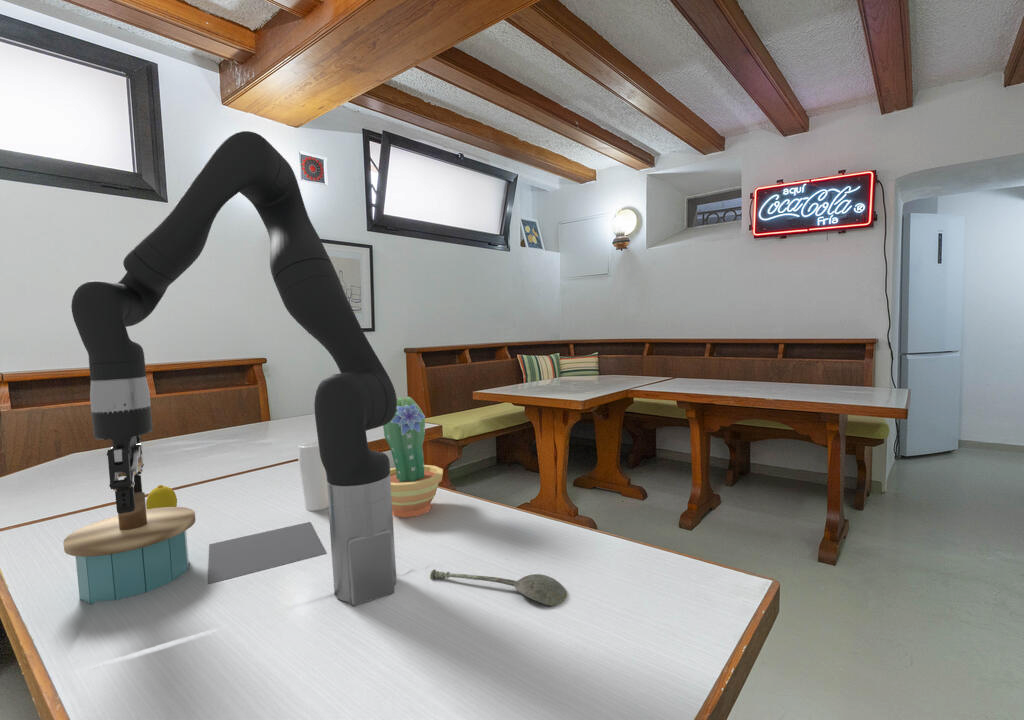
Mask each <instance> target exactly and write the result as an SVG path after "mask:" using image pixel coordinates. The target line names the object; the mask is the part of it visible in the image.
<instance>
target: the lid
mask: <svg viewBox="0 0 1024 720" xmlns="http://www.w3.org/2000/svg"><path fill="white" fill-rule="evenodd" d="M145 495H146V494H145V492H144V491H142V492H135V493H134V498H135V509H134V511H132V512H128V513H122V514H119V513H117V514H118V515H115V516H111V517H108V518H104V519H101V520H98V521H96V522H93V523H90V524H88V525H85V526H83V527H81V528H78V529H76V530H74V531H73V532H71V533H70V534H68V535H66V537H65V538H64V539H63V541H62V542H63V551H64V553H65V554H66V555H69V556H72V557H76V556H80V557H90V556H102V555H109V554H115V553H121V552H126V551H130V550H134V549H138V548H142V547H146V546H149V545H152V544H155V543H158V542H161V541H164V540H167V539H169V538H172V537H174V536H176V535H178V534H180V533H182V532H184V531H186V532H187V530H189V529H190V528H191V527H193V526H194V524H195V523H196V511H194V509H192V508H189V507H185V506H184V507H183V506H177V507H163V508H154V509H146V496H145Z"/></svg>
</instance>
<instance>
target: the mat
mask: <svg viewBox="0 0 1024 720" xmlns="http://www.w3.org/2000/svg"><path fill="white" fill-rule="evenodd" d="M327 554H328V552H327V551H326V549H325V547H324V545H323V543H322V542H321V539H320V537H319V535H318V533H317V532H316V529H315V527H314V526H313V524H312V522H311V521H308V522H303V523H299V524H294V525H290V526H289V525H288V526H285V527H281V528H276V529H272V530H268V531H267V530H266V531H263V532H258V533H254V534H249V535H245V536H240V537H236V538H232V539H227V540H222V541H217V542H214V543H209V546H208V561H207V562H208V565H207V582H206V583H207V585H210V584H211V585H212V584H214V583H219V582H223V581H226V580H227V581H228V580H231V579H234V578H239V577H242V576H246V575H250V574H254V573H257V572H261V571H264V570H269V569H274V568H276V567H277V568H278V567H280V566H284V565H289V564H293V563H297V562H301V561H304V560H307V559H312V558H315V557H320V556H323V555H327Z"/></svg>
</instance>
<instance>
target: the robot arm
mask: <svg viewBox="0 0 1024 720" xmlns="http://www.w3.org/2000/svg"><path fill="white" fill-rule="evenodd" d="M238 193H239V194H241V195H242V196H243V197H245V198H246V199H247V200H248V201H249V202H250V204H252V205H253V207H254V208H255V210H256V211H257V213H258V215H259V217H260V219H261V221H262V223H263V224H264V227H265V229H266V232H267V233H268V238H269V242H270V245H269V246H270V247H269V268H270V274H271V276H272V279H273V282H274V285H275V287H276V289H277V291H278V294H279V296H280V298H281V300H282V304H283V305H284V307H285V309H286V310H287V312H288V313H289V315H290V316H291V318H293V319H294V320H295V321H296V323H297V324H299V326H301V327H302V328H303V329H304V330H305V331H306V332H307V333H308V334H310V336H312V337H313V338H314V339H315V340H316V341H317V342H319V344H321V346H322V347H324V348H325V350H327V352H328V353H329V354H330V356H331V357H332V359H333V360H334V362H335V363H336V365H337V368H338V371H339V372H340V373H334V374H331V375H328V376H326V377H324V378H323V379H322V380H321V381H320V382H319V384H318V386H317V387H316V390H315V395H314V403H313V404H314V406H313V407H314V418H315V426H316V433H317V435H316V436H317V441H318V444H319V452H320V458H321V461H322V464H323V466H324V468H325V471H326V476H327V490H328V507H327V508H328V516H329V517H328V519H329V522H328V523H329V532H330V533H329V536H330V550H331V563H332V576H333V578H332V579H333V580H332V581H333V592H334V595H335V597H336V598H337V599H339V600H341V601H343V602H348V603H350V604H351V605H352V606H356V605H359V604H362V603H365V602H369V601H373V600H375V599H379V598H382V597H383V596H384V597H385V596H387V595H391V594H394V593H395V586H396V585H397V582H398V581H397V566H396V565H397V563H396V550H395V548H396V547H395V535H394V516H393V514H392V498H391V479H390V469H391V464H390V462H391V461H390V457H388V455H387V453H384V452H381V451H377V450H371V449H370V447H369V445H368V437H367V431H369V430H374V429H377V428H380V427H383V425H385V424H387V423H389V422H390V421H391V420H392V419H393V417H394V415H395V412H396V408H397V398H398V397H397V393H396V389H395V387H394V384H393V382H392V381H391V378H390V376H389V375H388V372H387V371H386V369H385V368H384V365H383V364H382V362H381V360H380V359H379V357H378V356H377V353H376V352H375V350H374V349H373V346H372V345H371V344H370V342H369V340H368V338H367V337H366V335H365V332H364V331H363V329H362V326H361V324H360V322H359V320H358V318H357V315H356V313H355V311H354V310H353V307H352V306H351V305H352V304H351V303H350V301H349V300H348V299H349V298H348V297H347V295H346V292H345V290H344V288H343V285H342V282H341V279H340V278H339V276H338V273H337V271H336V269H335V266H334V265H333V262H332V260H331V257H330V256H329V254H328V253H327V250H326V248H325V246H324V244H323V242H322V240H321V238H320V236H319V234H318V233H317V231H316V229H315V227H314V225H313V223H312V221H311V219H310V216H309V214H308V212H307V208H306V206H305V202H304V199H303V196H302V193H301V189H300V187H299V183H298V179H297V176H296V174H295V172H294V170H293V167H292V166H291V165H290V163H289V162H288V161H287V159H286V158H284V156H283V155H282V154H281V153H280V152H279V151H278V150H277V149H276V148H275V147H274V146H273V144H271V143H270V142H269V141H268V140H267V139H266V138H265V137H264V136H262V135H260V134H258V133H256V132H253V131H245V130H244V131H239V132H236V133H234V134H232V135H230V136H229V137H227V138H226V139H224V141H222V143H220V145H219V146H218V148H217V149H215V150H214V152H213V153H212V155H211V156H210V157H209V159H208V160H207V161H206V163H205V165H204V166H203V167H202V168H201V169H200V171H199V172H198V174H197V175H196V176H195V178H194V179H193V180H192V182H191V183H190V184H189V186H188V187H187V188H186V190H185V191H184V193H183V194H182V196H181V197H180V198H179V200H178V202H177V203H176V204H175V205H174V206H173V208H172V210H171V211H170V212H169V213H168V214H167V215H166V217H164V218H163V220H162V221H161V222H160V223H159V224H158V225H157V226H156V227H155V228H153V230H151V232H149V233H148V234H147V235H145V237H144V238H143V239H142V240H141V241H139V242H138V243H137V245H136V246H135V247H133V248H132V249H131V250H130V251H129V252H128V254H127V255H126V256H125V257H124V259H123V261H122V262H123V267H124V270H125V271H126V273H125V274H124V275H123V277H122V278H121V279H120V280H119V281H118V282H112V281H105V280H89V281H86V282H84V283H83V284H80V285H79V286H78V287H77V289H76V290H75V292H74V293H73V295H72V299H71V307H70V308H71V313H72V318H73V321H74V324H75V327H76V329H77V331H78V335H79V336H80V339H81V342H82V344H83V346H84V349H85V350H86V352H87V354H88V369H89V378H90V389H89V400H90V402H89V403H90V410H91V411H90V412H91V420H92V421H91V422H92V430H93V431H92V432H93V438H94V439H95V440H101V441H102V440H103V441H104V440H105V441H106V440H111V441H112V445H111V448H110V449H107V452H106V456H107V461H108V463H107V464H108V472H109V473H108V475H109V476H108V477H109V488H110V490H113V491H114V495H115V505H116V506H115V507H116V512H117V514H118V513H119V514H122V513H128V512H132V511H134V509H135V498H134V493H135V492H143V484H142V473H143V470H144V469H143V467H144V465H145V464H144V456H143V449H144V447H143V444H142V441H141V440H142V437H141V436H143V435H146V434H147V435H148V434H149V433H151V432H152V431H153V426H154V425H153V416H152V406H151V396H150V395H151V394H150V387H149V384H148V381H147V372H146V371H147V370H146V359H145V352H144V348H143V347H142V345H140V344H139V343H137V342H136V341H132V340H131V339H130V336H129V333H128V329H127V327H133V326H136V325H138V324H139V323H141V322H142V321H144V320H145V319H147V317H149V316H150V315H151V314H152V313H153V312H154V310H155V309H156V307H157V306H158V304H159V303H160V301H161V300H162V298H163V297H164V295H165V293H166V291H167V290H168V288H169V286H170V285H171V284H173V283H174V282H175V281H176V280H177V279H178V278H180V277H181V275H183V274H184V273H185V272H186V271H187V270H188V269H189V268H190V267H191V266H192V265H193V264H194V263H195V261H196V260H198V258H199V257H200V255H201V254H202V252H203V250H204V248H205V246H206V243H207V240H208V237H209V234H210V231H211V228H212V225H213V223H214V220H215V219H216V217H217V215H218V214H219V212H220V211H221V209H222V208H223V207H224V206H225V204H226V203H227V202H228V201H230V200H231V199H232V198H233V197H235V196H236V195H238ZM121 477H124V478H122V479H119V478H121Z"/></svg>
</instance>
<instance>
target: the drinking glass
mask: <svg viewBox="0 0 1024 720" xmlns="http://www.w3.org/2000/svg"><path fill="white" fill-rule="evenodd" d="M297 456H298V457H297V459H298V466H299V467H298V468H299V472H300V473H299V474H300V478H301V485H302V491H303V492H302V493H303V496H304V505H305V506H304V508H305V510H306V511H310V512H314V511H315V512H316V511H317V512H318V511H321V510H325V509H327V508H329V507H328V490H327V476H326V471H325V468H324V466H323V464H322V461H321V458H320V452H319V444H318V440H311V441H306V442H302V443H299V444H298V445H297Z"/></svg>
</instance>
